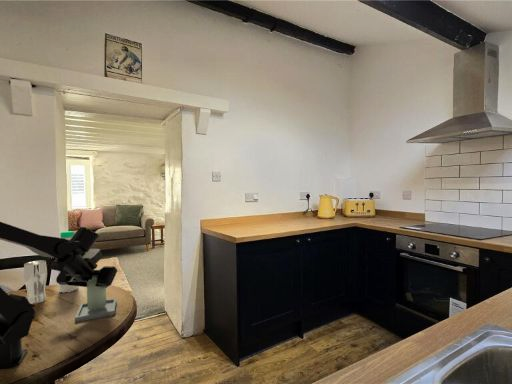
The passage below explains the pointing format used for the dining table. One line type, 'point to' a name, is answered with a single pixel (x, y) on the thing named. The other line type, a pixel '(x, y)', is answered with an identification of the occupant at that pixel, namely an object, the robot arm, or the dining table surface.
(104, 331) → the dining table surface
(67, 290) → the white milk bottle
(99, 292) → the sage green mushroom knob
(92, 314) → the tray
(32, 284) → the beer glass
